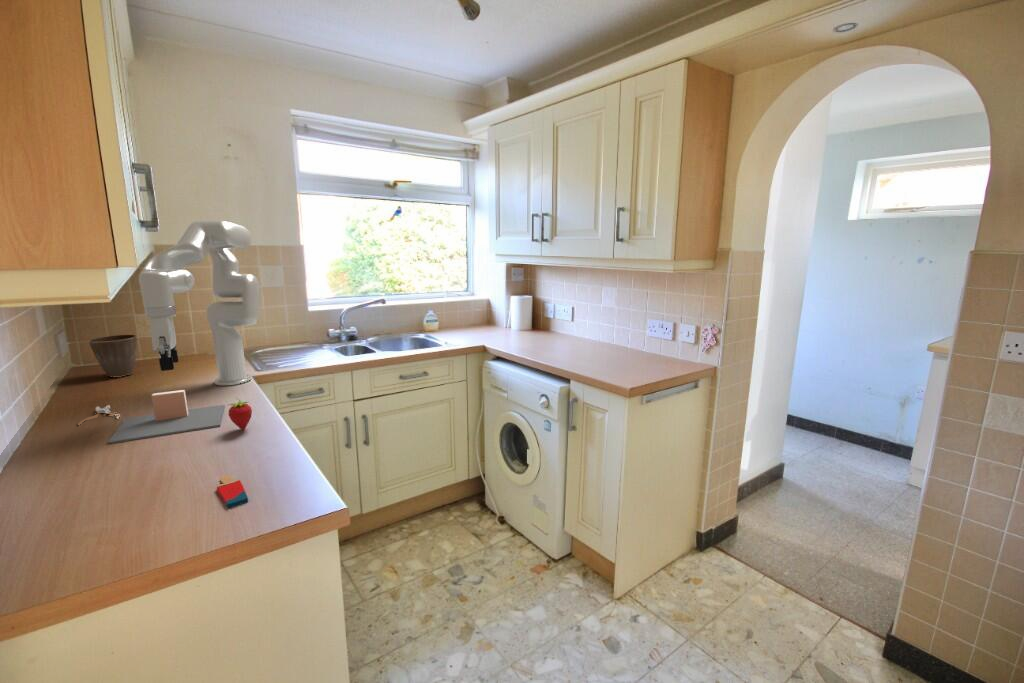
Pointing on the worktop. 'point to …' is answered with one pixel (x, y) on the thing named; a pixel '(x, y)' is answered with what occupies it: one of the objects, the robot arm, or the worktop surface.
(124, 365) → the plant pot
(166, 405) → the tile
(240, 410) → the strawberry
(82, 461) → the worktop surface
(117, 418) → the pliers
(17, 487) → the worktop surface
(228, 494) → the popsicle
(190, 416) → the mat
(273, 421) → the worktop surface
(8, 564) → the worktop surface
